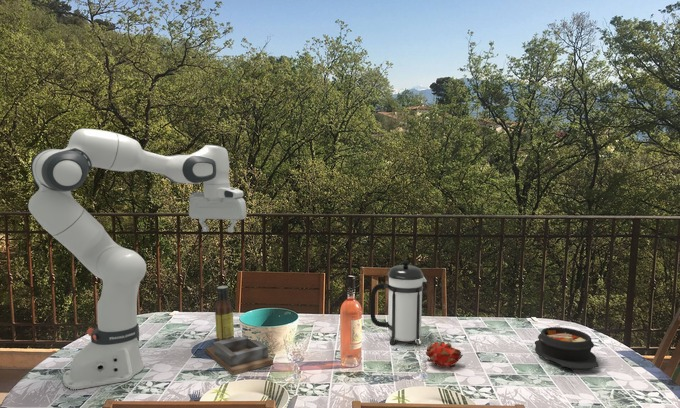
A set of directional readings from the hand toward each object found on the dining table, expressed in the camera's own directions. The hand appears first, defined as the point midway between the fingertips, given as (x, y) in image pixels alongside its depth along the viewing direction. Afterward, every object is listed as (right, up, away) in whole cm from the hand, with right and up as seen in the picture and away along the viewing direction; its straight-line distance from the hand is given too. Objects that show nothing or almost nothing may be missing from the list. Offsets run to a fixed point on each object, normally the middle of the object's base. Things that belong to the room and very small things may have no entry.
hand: (218, 231), depth 169 cm
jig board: (+9, -42, -8) cm, 43 cm away
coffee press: (+65, -41, +9) cm, 77 cm away
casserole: (+117, -42, -7) cm, 125 cm away
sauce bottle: (0, -40, +9) cm, 41 cm away
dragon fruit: (+76, -43, -13) cm, 88 cm away
